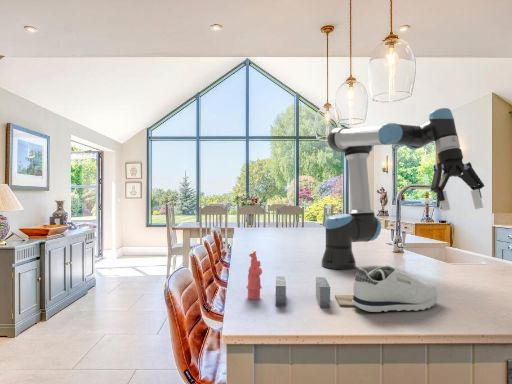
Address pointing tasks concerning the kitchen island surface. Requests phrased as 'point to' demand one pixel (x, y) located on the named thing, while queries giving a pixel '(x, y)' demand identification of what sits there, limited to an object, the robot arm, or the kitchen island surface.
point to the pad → (345, 300)
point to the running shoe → (391, 291)
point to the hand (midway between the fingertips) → (463, 209)
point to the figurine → (254, 277)
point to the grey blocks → (321, 291)
